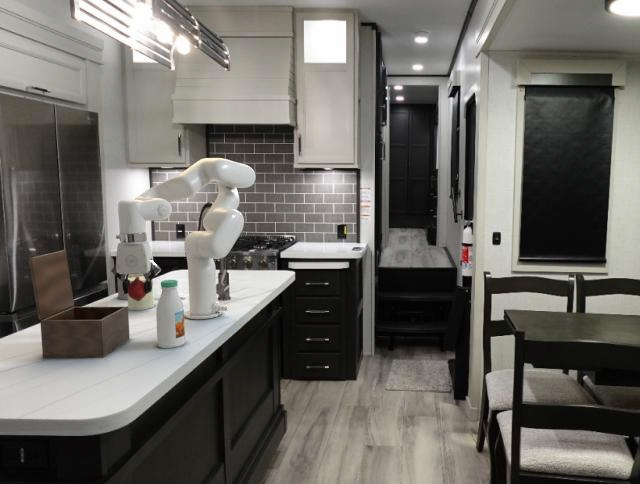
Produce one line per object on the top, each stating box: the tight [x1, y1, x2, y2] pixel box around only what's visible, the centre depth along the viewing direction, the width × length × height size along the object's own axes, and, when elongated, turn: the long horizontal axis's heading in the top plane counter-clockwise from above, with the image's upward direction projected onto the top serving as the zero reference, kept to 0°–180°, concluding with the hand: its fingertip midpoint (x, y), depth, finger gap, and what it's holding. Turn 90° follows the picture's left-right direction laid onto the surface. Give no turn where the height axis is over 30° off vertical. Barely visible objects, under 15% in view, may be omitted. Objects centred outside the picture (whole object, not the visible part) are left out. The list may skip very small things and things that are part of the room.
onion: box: [128, 277, 146, 301], centre depth 161 cm, size 6×6×8 cm
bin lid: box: [28, 249, 75, 320], centre depth 145 cm, size 17×16×1 cm
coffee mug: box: [116, 274, 154, 300], centre depth 211 cm, size 13×10×10 cm
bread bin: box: [39, 306, 131, 359], centre depth 147 cm, size 17×16×11 cm
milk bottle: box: [156, 279, 186, 349], centre depth 151 cm, size 8×8×20 cm
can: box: [127, 276, 155, 311], centre depth 194 cm, size 9×9×12 cm
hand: (137, 292), depth 161 cm, fingers closed on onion, 5 cm apart
